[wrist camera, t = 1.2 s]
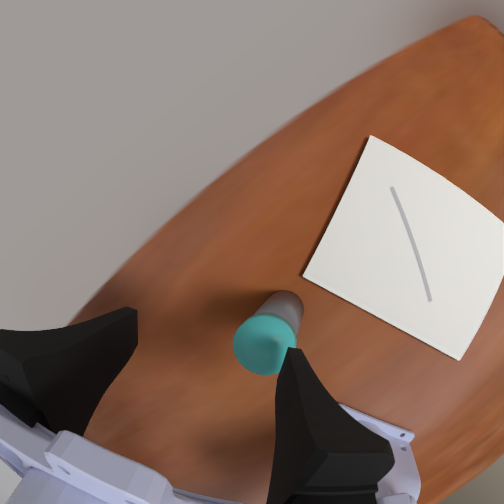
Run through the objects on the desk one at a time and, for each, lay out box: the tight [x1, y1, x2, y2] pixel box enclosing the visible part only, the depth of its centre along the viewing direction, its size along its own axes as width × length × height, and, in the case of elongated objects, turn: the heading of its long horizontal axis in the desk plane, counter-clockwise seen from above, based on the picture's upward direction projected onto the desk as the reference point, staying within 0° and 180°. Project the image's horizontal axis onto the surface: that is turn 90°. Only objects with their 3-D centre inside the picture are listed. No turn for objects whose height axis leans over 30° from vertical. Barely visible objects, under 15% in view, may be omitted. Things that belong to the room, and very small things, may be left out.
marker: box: [233, 290, 304, 375], centre depth 18 cm, size 3×3×8 cm
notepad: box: [302, 135, 504, 361], centre depth 18 cm, size 16×12×1 cm
